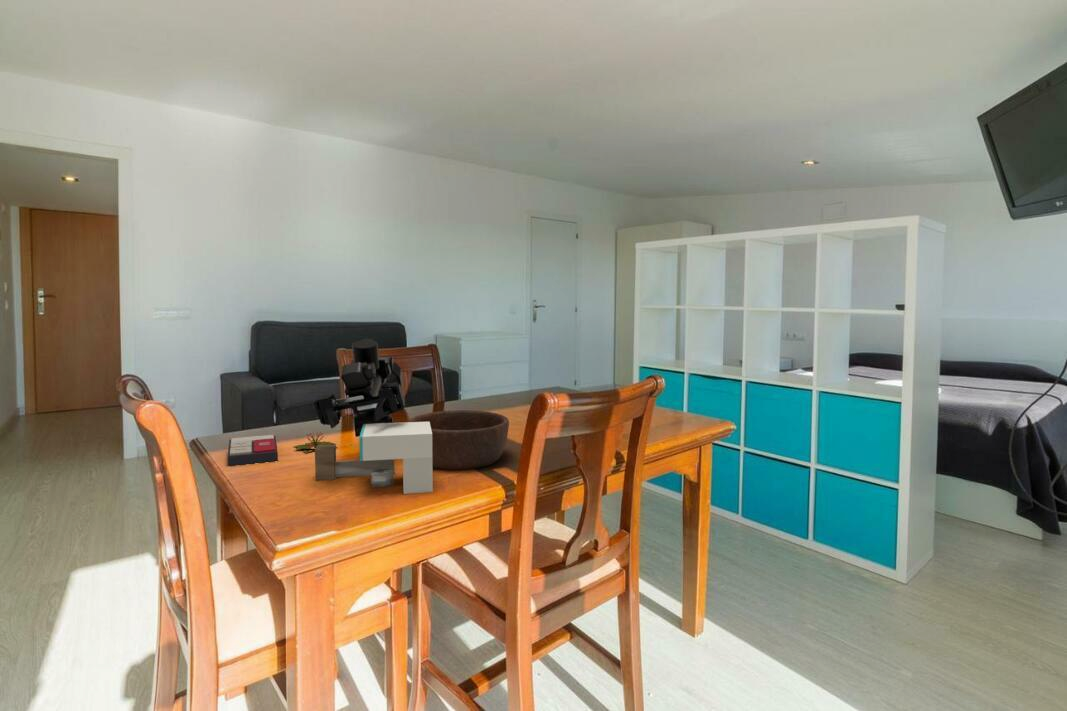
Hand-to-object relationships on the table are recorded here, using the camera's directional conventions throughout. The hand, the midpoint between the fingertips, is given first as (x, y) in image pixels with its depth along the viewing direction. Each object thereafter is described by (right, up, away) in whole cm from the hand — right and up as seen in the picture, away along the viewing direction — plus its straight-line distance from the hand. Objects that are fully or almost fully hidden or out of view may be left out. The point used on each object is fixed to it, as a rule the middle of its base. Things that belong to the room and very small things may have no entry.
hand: (353, 422), depth 121 cm
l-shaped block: (+8, -14, +6) cm, 18 cm away
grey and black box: (-34, -13, +27) cm, 45 cm away
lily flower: (-21, -12, +36) cm, 44 cm away
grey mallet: (-3, -14, +12) cm, 19 cm away
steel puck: (+4, -15, +7) cm, 17 cm away
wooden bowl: (+19, -13, +27) cm, 35 cm away
